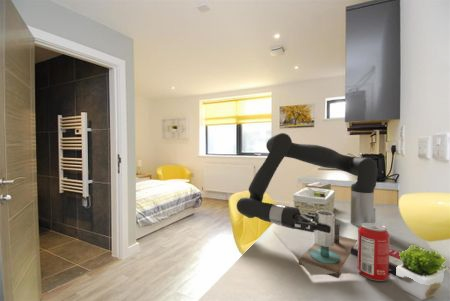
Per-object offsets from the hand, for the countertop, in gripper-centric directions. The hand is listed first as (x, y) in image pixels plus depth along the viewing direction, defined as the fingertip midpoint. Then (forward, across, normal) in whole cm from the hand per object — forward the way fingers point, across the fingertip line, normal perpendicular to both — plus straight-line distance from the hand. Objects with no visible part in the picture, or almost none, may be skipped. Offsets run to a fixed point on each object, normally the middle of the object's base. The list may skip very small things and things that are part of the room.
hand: (332, 226), depth 74 cm
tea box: (-25, +67, +12) cm, 73 cm away
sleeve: (-3, 0, +6) cm, 7 cm away
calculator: (+12, +12, +13) cm, 21 cm away
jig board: (-2, +8, +12) cm, 15 cm away
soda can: (+11, +1, +12) cm, 17 cm away
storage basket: (-19, +41, +13) cm, 47 cm away
